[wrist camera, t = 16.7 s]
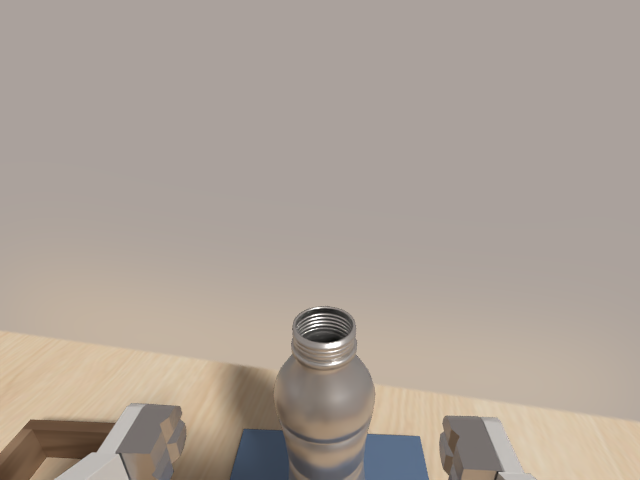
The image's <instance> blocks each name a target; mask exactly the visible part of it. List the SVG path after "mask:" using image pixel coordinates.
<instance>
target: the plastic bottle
mask: <svg viewBox="0 0 640 480" xmlns="http://www.w3.org/2000/svg"><path fill="white" fill-rule="evenodd" d="M292 330H293V339H292V343H291V346H292V355H291V356H290V357H289V358H288V360H287V361H286V362H285V363H284V365H283V366H282V367H281V369H280V371H279V373H278V375H277V378H276V382H275V386H274V391H273V397H274V404H275V409H276V412H277V415H278V418H279V421H280V424H281V428H282V431H283V434H284V437H285V441H286V447H287V452H288V458H289V480H365V473H364V462H363V460H364V451H365V442H366V437H367V433H368V429H369V425H370V422H371V418H372V414H373V409H374V403H375V387H374V384H373V381H372V378H371V376H370V373H369V371H368V369H367V368H366V366H365V365H364V363H363V362H362V361H361V360H360V358H359V357H358V356H357V355H356V350H357V341H356V338H355V337H356V325H355V321H354V319H353V317H352V316H351V315H350V314H349V313H347V312H346V311H344V310H342V309H339V308H335V307H329V306H320V307H314V308H310V309H307V310H305V311H303V312H301V313H300V314H299V315H298V316H297V317H296V318H295V320H294V322H293V328H292Z"/></svg>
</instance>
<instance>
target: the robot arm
mask: <svg viewBox="0 0 640 480" xmlns="http://www.w3.org/2000/svg"><path fill="white" fill-rule="evenodd" d="M181 415H182V411H181V408H180V406H171V405H156V404H139V403H131V404H130V405H129V406H127V407H126V408H125V410H124V411H123V413H122V415H121V416H120V418H119V419H118V421H117V422H116V424H115V425H114V427H113V428H112V430H111V431H110V433H109V434H108V436H107V437H106V439H105V440H104V442H103V443H102V445H101V446H100V448H99V449H98V451H97V452H92V453H90V454H89V455H87V456H86V457H85V458H83V459H82V460H80V461H79V462H78V463H76V464H75V465H73V466H72V467H71V468H69V469H68V470H66V471H65V472H64V473H62V474H61V475H60V476H58V477H57V478H55V479H54V480H170V479H171V477H172V474H173V472H174V470H173V466H172V463H173V462H174V461H176V460H177V459H178V458H179V457H180V456H181V453H182V451H183V448H184V445H185V440H186V426H185V423H184V422H183V421H181V420H180V417H181ZM443 428H444V432H443V433H442V434H440V441H439V446H440V457H441V462H442V466H443V470H444V471H445V472H446V473H447V474H448V475H449V479H448V480H537V479H536V478H534V477H533V476H532V475H531V474H529V473H524V471H523V469H522V466H521V464H520V462H519V460H518V458H517V456H516V453H515V451H514V449H513V447H512V445H511V443H510V440H509V438H508V436H507V434H506V432H505V430H504V427H503V425H502V423H501V421H500V420H499V419H498V418H495V417H478V416H445V417H444V419H443Z"/></svg>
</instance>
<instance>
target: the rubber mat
mask: <svg viewBox="0 0 640 480" xmlns="http://www.w3.org/2000/svg"><path fill="white" fill-rule="evenodd" d="M363 462H364V473H365V480H429V478H428V473H427V468H426V464H425V459H424V454H423V450H422V445H421V440H420V436H400V435H376V434H367V437H366V442H365V451H364V460H363ZM230 480H289V458H288V452H287V447H286V441H285V437H284V434H283V431H281V430H258V429H244V431H243V434H242V438H241V441H240V445H239V448H238V452H237V456H236V459H235V463H234V466H233V470H232V473H231V477H230Z"/></svg>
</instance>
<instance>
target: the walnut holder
mask: <svg viewBox="0 0 640 480" xmlns="http://www.w3.org/2000/svg"><path fill="white" fill-rule="evenodd" d="M115 424H116V423H98V422H74V421H51V420H30V421H29V422H28V423H27V424H26V425H25V426H24V427H23V429H22V430H21V431H20V432H19V433H18V434H17V435H16V436H15V437H14V439H13V440H12V441H11V442H10V443H9V444H8V445H7V446H6V447H5V448H4V450H3V451H2V452H1V453H0V480H29V479H30V478H31V477H32V475H33V474H34V473H35V471H36V470H37V469H38V468H39V466H40V465H41V464H42V462H43V461H44V460H45V459H46V457H57V458H77V459H83V458H85V457H86V456H87V455H89V454H90V453H92V452H97V451H98V449H99V448H100V446H101V445H102V443H103V442H104V440H105V439H106V437H107V436H108V434H109V433H110V431H111V430H112V428H113V427H114V425H115Z"/></svg>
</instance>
